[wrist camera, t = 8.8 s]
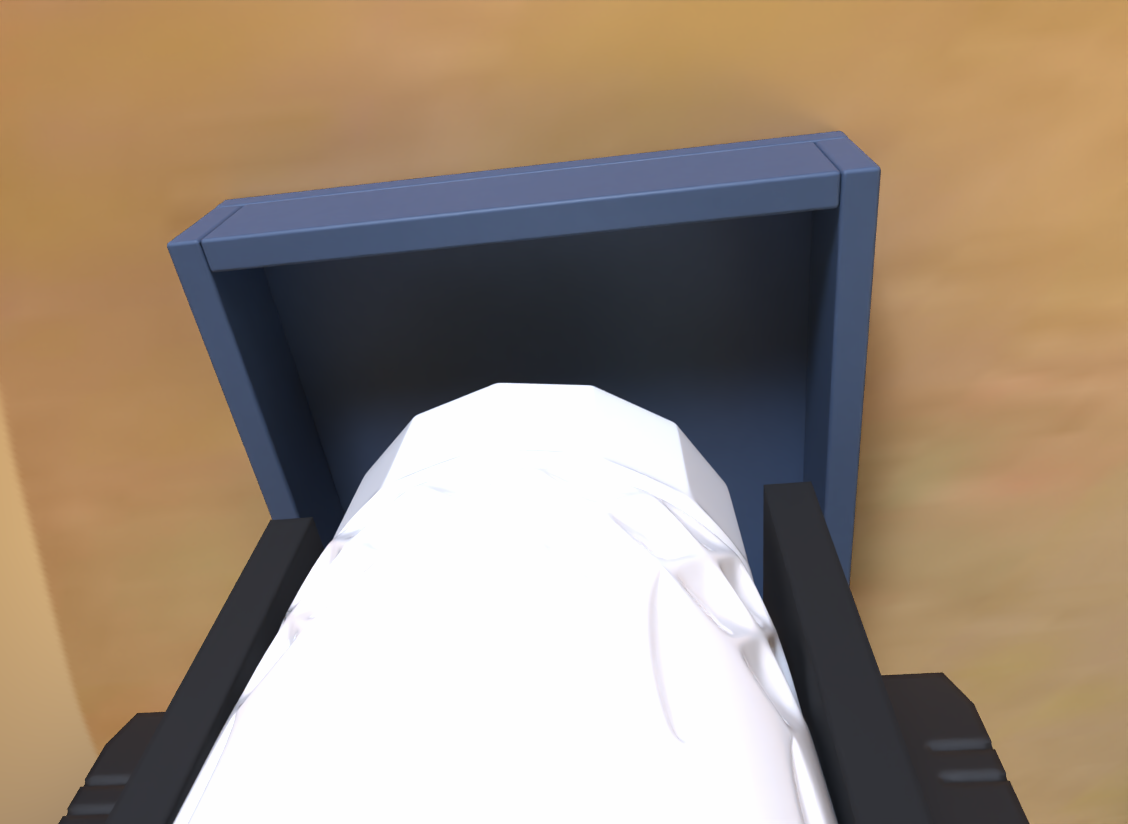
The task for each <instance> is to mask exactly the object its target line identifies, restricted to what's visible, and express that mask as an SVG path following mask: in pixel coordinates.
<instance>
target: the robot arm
mask: <svg viewBox="0 0 1128 824" xmlns="http://www.w3.org/2000/svg"><path fill="white" fill-rule="evenodd" d="M323 551H324V547H323V544H322V542H321V539H320V536H319V533H318V530H317V528H316V525H315V522H314V519H313V517H307V518H293V519H279V520H270V522H269V524H268V526H267V528H266V529H265V531H264V533H263V535H262V537H261V539H260V540H259V542H258V544H257V546H256V548H255V550H254V551H253V553H252V555H251V557H250V559H249V560H248V562H247V564H246V566H245V568H244V570H243V571H242V573H241V575H240V577H239V579H238V581H237V582H236V584H235V586H234V588H233V590H232V591H231V593H230V595H229V597H228V599H227V601H226V602H225V604H224V606H223V608H222V610H221V612H220V613H219V615H218V617H217V619H216V621H215V623H214V624H213V626H212V628H211V630H210V632H209V633H208V635H207V637H206V639H205V641H204V643H203V644H202V646H201V648H200V650H199V652H198V654H197V655H196V657H195V659H194V661H193V663H192V664H191V666H190V668H189V670H188V672H187V674H186V675H185V677H184V679H183V681H182V683H181V685H180V686H179V688H178V690H177V692H176V694H175V696H174V697H173V699H172V701H171V703H170V705H169V706H168V708H167V710H166V712H153V713H137V714H136V715H135V716H134V717H133V718H132V719H131V720H130V721H129V722H128V723H127V724H126V725H125V726H124V727H123V728H122V729H121V730H120V731H119V732H118V733H117V734H116V735H115V736H114V737H113V738H112V739H111V740H110V741H109V742H108V743H107V744H106V745H105V747H104V748H103V750H102V752H101V753H100V755H99V757H98V758H97V760H96V762H95V763H94V765H93V767H92V768H91V770H90V772H89V773H88V775H87V777H86V778H85V785H84V786H83V787H80V789H79V790H78V792H77V794H76V795H75V797H74V799H73V800H72V802H71V804H70V805H69V807H68V813H67V815H66V816H63V817H62V819H61V820H60V822H59V824H173V822H174V820H175V818H176V816H177V814H178V812H179V810H180V808H181V806H182V804H183V803H184V801H185V799H186V797H187V795H188V793H189V791H190V789H191V787H192V785H193V783H194V781H195V780H196V778H197V776H198V774H199V772H200V770H201V768H202V766H203V764H204V762H205V760H206V758H207V756H208V754H209V753H210V751H211V749H212V747H213V745H214V743H215V741H216V739H217V737H218V735H219V734H220V732H221V730H222V728H223V726H224V724H225V722H226V721H227V719H228V717H229V715H230V713H231V712H232V710H233V708H234V707H235V705H236V703H237V702H238V700H239V698H240V696H241V695H242V693H243V691H244V689H245V688H246V686H247V684H248V682H249V680H250V679H251V677H252V675H253V673H254V672H255V670H256V668H257V666H258V665H259V663H260V661H261V659H262V658H263V656H264V654H265V653H266V651H267V649H268V648H269V646H270V645H271V643H272V641H273V640H274V638H275V636H276V635H277V633H278V631H279V629H280V626H281V624H282V622H283V619H284V617H285V615H286V613H287V611H288V609H289V607H290V605H291V604H292V602H293V600H294V598H295V596H296V595H297V593H298V591H299V589H300V588H301V586H302V584H303V582H304V581H305V579H306V577H307V576H308V574H309V572H310V571H311V569H312V567H313V566H314V564H315V563H316V561H317V560H318V558H319V557H320V555H321V554H322V552H323ZM763 603H764V605H765V607H766V609H767V611H768V613H769V616H770V618H771V620H772V622H773V624H774V626H775V628H776V630H777V633H778V637H779V639H780V642H781V645H782V648H783V651H784V654H785V657H786V660H787V663H788V666H789V670H790V673H791V676H792V679H793V683H794V686H795V690H796V693H797V697H798V701H799V704H800V708H801V711H802V714H803V716H804V718H805V720H806V722H807V724H808V726H809V729H810V732H811V735H812V738H813V741H814V744H815V747H816V751H817V754H818V757H819V760H820V764H821V767H822V770H823V773H824V777H825V780H826V783H827V787H828V790H829V793H830V797H831V800H832V803H833V807H834V810H835V813H836V817H837V820H838V823H839V824H1029V822H1028V820H1027V818H1026V815H1025V813H1024V811H1023V809H1022V807H1021V805H1020V802H1019V800H1018V798H1017V796H1016V794H1015V792H1014V790H1013V787H1012V785H1011V783H1010V781H1007V778H1006V772H1005V770H1004V768H1003V766H1002V764H1001V761H1000V759H999V757H998V755H997V753H996V751H995V749H993V748H992V745H991V740H990V738H989V736H988V733H987V731H986V729H985V727H984V725H983V723H982V721H981V718H980V716H979V714H978V712H977V710H976V708H975V705H974V704H973V703H972V702H971V701H970V700H969V699H968V698H967V697H966V696H965V695H964V694H963V693H962V692H961V691H960V690H959V689H958V688H957V687H956V686H955V685H954V684H953V683H952V682H951V681H950V680H949V679H948V678H947V677H946V676H945V675H944V673H923V674H903V675H882V676H881V674H880V671H879V668H878V666H877V663H876V660H875V657H874V655H873V652H872V649H871V646H870V643H869V641H868V638H867V635H866V632H865V630H864V627H863V624H862V621H861V618H860V616H859V613H858V610H857V607H856V605H855V602H854V599H853V596H852V593H851V591H850V588H849V585H848V582H847V580H846V577H845V574H844V571H843V568H842V566H841V563H840V560H839V557H838V555H837V552H836V549H835V546H834V543H833V541H832V538H831V535H830V532H829V530H828V527H827V524H826V521H825V518H824V516H823V513H822V510H821V507H820V505H819V502H818V499H817V496H816V493H815V491H814V488H813V485H812V482H811V481H809V482H795V483H781V484H767V485H764V490H763Z"/></svg>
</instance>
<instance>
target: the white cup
mask: <svg viewBox="0 0 1128 824" xmlns="http://www.w3.org/2000/svg"><path fill="white" fill-rule="evenodd" d="M173 824H839V823H838V820H837V817H836V813H835V810H834V807H833V803H832V800H831V797H830V793H829V790H828V787H827V783H826V780H825V777H824V773H823V770H822V767H821V764H820V760H819V757H818V754H817V751H816V747H815V744H814V741H813V738H812V735H811V732H810V729H809V726H808V724H807V722H806V720H805V718H804V716H803V714H802V711H801V708H800V704H799V701H798V697H797V693H796V690H795V686H794V683H793V679H792V676H791V673H790V670H789V666H788V663H787V660H786V657H785V654H784V651H783V648H782V645H781V642H780V639H779V637H778V633H777V630H776V628H775V626H774V624H773V622H772V620H771V618H770V616H769V613H768V611H767V609H766V607H765V605H764V603H763V600H762V598H761V596H760V594H759V592H758V590H757V588H756V586H755V583H754V579H753V576H752V572H751V569H750V566H749V563H748V559H747V555H746V551H745V548H744V544H743V541H742V537H741V533H740V530H739V526H738V522H737V519H736V515H735V511H734V508H733V504H732V501H731V497H730V494H729V490H728V488H727V485H726V484H725V482H724V481H723V480H722V479H721V477H720V476H719V475H718V474H717V473H716V471H715V470H714V469H713V468H712V467H711V465H710V464H709V463H708V462H707V461H706V459H705V458H704V457H703V456H702V455H701V453H700V452H699V451H698V450H697V449H696V447H695V446H694V445H693V444H692V443H691V441H690V440H689V439H688V438H687V437H686V435H685V434H684V433H683V432H682V430H681V429H680V428H679V427H678V426H677V425H676V424H675V423H674V422H672V421H670V420H668V419H666V418H663V417H661V416H659V415H657V414H655V413H652V412H650V411H648V410H646V409H643V408H641V407H639V406H637V405H635V404H632V403H630V402H628V401H626V400H624V399H621V398H619V397H617V396H615V395H612V394H610V393H608V392H606V391H604V390H601V389H599V388H597V387H595V386H591V385H564V384H529V383H496V384H493V385H490V386H488V387H485V388H483V389H480V390H478V391H475V392H473V393H470V394H468V395H465V396H463V397H460V398H458V399H455V400H453V401H450V402H448V403H445V404H443V405H440V406H438V407H435V408H433V409H430V410H428V411H425V412H423V413H420V414H418V415H416V416H415V417H414V418H413V419H412V420H411V421H410V422H409V423H408V425H407V426H406V427H405V428H404V429H403V430H402V432H401V433H400V434H399V435H398V436H397V438H396V439H395V440H394V441H393V442H392V443H391V445H390V446H389V447H388V448H387V449H386V450H385V452H384V453H383V454H382V455H381V456H380V457H379V459H378V460H377V461H376V462H375V463H374V465H373V466H372V467H371V468H370V469H369V470H368V472H367V473H366V474H365V476H364V478H363V479H362V481H361V483H360V485H359V487H358V489H357V491H356V493H355V495H354V497H353V499H352V501H351V503H350V505H349V507H348V509H347V511H346V514H345V516H344V518H343V520H342V522H341V524H340V526H339V528H338V530H337V532H336V534H335V536H334V538H333V540H332V541H331V542H330V543H329V544H328V545H327V547H326V548H325V549H324V551H323V552H322V554H321V555H320V557H319V558H318V560H317V561H316V563H315V564H314V566H313V567H312V569H311V571H310V572H309V574H308V576H307V577H306V579H305V581H304V582H303V584H302V586H301V588H300V589H299V591H298V593H297V595H296V596H295V598H294V600H293V602H292V604H291V605H290V607H289V609H288V611H287V613H286V615H285V617H284V619H283V622H282V624H281V626H280V629H279V631H278V633H277V635H276V636H275V638H274V640H273V641H272V643H271V645H270V646H269V648H268V649H267V651H266V653H265V654H264V656H263V658H262V659H261V661H260V663H259V665H258V666H257V668H256V670H255V672H254V673H253V675H252V677H251V679H250V680H249V682H248V684H247V686H246V688H245V689H244V691H243V693H242V695H241V696H240V698H239V700H238V702H237V703H236V705H235V707H234V708H233V710H232V712H231V713H230V715H229V717H228V719H227V721H226V722H225V724H224V726H223V728H222V730H221V732H220V734H219V735H218V737H217V739H216V741H215V743H214V745H213V747H212V749H211V751H210V753H209V754H208V756H207V758H206V760H205V762H204V764H203V766H202V768H201V770H200V772H199V774H198V776H197V778H196V780H195V781H194V783H193V785H192V787H191V789H190V791H189V793H188V795H187V797H186V799H185V801H184V803H183V804H182V806H181V808H180V810H179V812H178V814H177V816H176V818H175V820H174V822H173Z"/></svg>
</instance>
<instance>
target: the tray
mask: <svg viewBox="0 0 1128 824" xmlns="http://www.w3.org/2000/svg"><path fill="white" fill-rule="evenodd" d="M880 175H881V169H880V167H879V166H878V165H877V164H876V163H875V162H874V161H873V160H872V159H871V158H869V157H868V156H867V155H866V154H865V153H864V152H863V151H862V150H861V149H860V148H859V147H858V146H856V145H855V144H854V143H853V142H852V141H851V140H850V139H848V137H847V136H846V135H845V134H844V133H843V132H841V131H836V132H827V133H818V134H809V135H800V136H791V137H782V138H773V139H764V140H756V141H747V142H738V143H729V144H720V145H711V146H702V147H693V148H684V149H675V150H667V151H658V152H649V153H640V154H631V155H622V156H613V157H604V158H595V159H586V160H578V161H569V162H560V163H551V164H542V165H533V166H524V167H515V168H506V169H498V170H489V171H480V172H471V173H462V174H453V175H444V176H435V177H426V178H417V179H409V180H400V181H391V182H382V183H373V184H364V185H355V186H346V187H337V188H328V189H320V190H311V191H302V192H293V193H284V194H275V195H266V196H257V197H248V198H240V199H231V200H225V201H224V202H222V203H221V204H220V205H218V206H217V207H216V208H215V209H213V210H212V211H211V212H209V213H208V214H207V215H205V216H204V217H203V218H201V219H200V220H199V221H197V222H196V223H195V224H193V225H192V226H191V227H189V228H188V229H186V230H185V231H184V232H182V233H181V234H180V235H178V236H177V237H176V238H174V239H173V240H172V241H170V242H169V243H168V244H167V248H168V250H169V253H170V256H171V258H172V261H173V263H174V266H175V269H176V271H177V274H178V276H179V279H180V282H181V284H182V287H183V289H184V292H185V295H186V297H187V300H188V302H189V305H190V307H191V310H192V313H193V315H194V318H195V320H196V323H197V326H198V328H199V331H200V333H201V336H202V339H203V341H204V344H205V346H206V349H207V351H208V354H209V357H210V359H211V362H212V364H213V367H214V370H215V372H216V375H217V377H218V380H219V383H220V385H221V388H222V390H223V393H224V395H225V398H226V401H227V403H228V406H229V408H230V411H231V414H232V416H233V419H234V421H235V424H236V427H237V429H238V432H239V434H240V437H241V440H242V442H243V445H244V447H245V450H246V452H247V455H248V458H249V460H250V463H251V465H252V468H253V471H254V473H255V476H256V478H257V481H258V484H259V486H260V489H261V491H262V494H263V496H264V499H265V502H266V504H267V507H268V509H269V512H270V515H271V517H272V520H279V519H293V518H307V517H313V519H314V522H315V525H316V528H317V530H318V533H319V536H320V539H321V542H322V544H323V547H324V549H325V548H326V547H327V545H328V544H329V543H330V542H331V541H332V540H333V538H334V536H335V534H336V532H337V530H338V528H339V526H340V524H341V522H342V520H343V518H344V516H345V514H346V511H347V509H348V507H349V505H350V503H351V501H352V499H353V497H354V495H355V493H356V491H357V489H358V487H359V485H360V483H361V481H362V479H363V478H364V476H365V474H366V473H367V472H368V470H369V469H370V468H371V467H372V466H373V465H374V463H375V462H376V461H377V460H378V459H379V457H380V456H381V455H382V454H383V453H384V452H385V450H386V449H387V448H388V447H389V446H390V445H391V443H392V442H393V441H394V440H395V439H396V438H397V436H398V435H399V434H400V433H401V432H402V430H403V429H404V428H405V427H406V426H407V425H408V423H409V422H410V421H411V420H412V419H413V418H414V417H415V416H416V415H418V414H420V413H423V412H425V411H428V410H430V409H433V408H435V407H438V406H440V405H443V404H445V403H448V402H450V401H453V400H455V399H458V398H460V397H463V396H465V395H468V394H470V393H473V392H475V391H478V390H480V389H483V388H485V387H488V386H490V385H493V384H496V383H529V384H564V385H591V386H595V387H597V388H599V389H601V390H604V391H606V392H608V393H610V394H612V395H615V396H617V397H619V398H621V399H624V400H626V401H628V402H630V403H632V404H635V405H637V406H639V407H641V408H643V409H646V410H648V411H650V412H652V413H655V414H657V415H659V416H661V417H663V418H666V419H668V420H670V421H672V422H674V423H675V424H676V425H677V426H678V427H679V428H680V429H681V430H682V432H683V433H684V434H685V435H686V437H687V438H688V439H689V440H690V441H691V443H692V444H693V445H694V446H695V447H696V449H697V450H698V451H699V452H700V453H701V455H702V456H703V457H704V458H705V459H706V461H707V462H708V463H709V464H710V465H711V467H712V468H713V469H714V470H715V471H716V473H717V474H718V475H719V476H720V477H721V479H722V480H723V481H724V482H725V484H726V485H727V488H728V490H729V494H730V497H731V501H732V504H733V508H734V511H735V515H736V519H737V522H738V526H739V530H740V533H741V537H742V541H743V544H744V548H745V551H746V555H747V559H748V563H749V566H750V569H751V572H752V576H753V579H754V583H755V586H756V588H757V590H758V592H759V594H760V596H761V598H762V600H763V490H764V485H767V484H781V483H795V482H809V481H811V482H812V485H813V488H814V491H815V493H816V496H817V499H818V502H819V505H820V507H821V510H822V513H823V516H824V518H825V521H826V524H827V527H828V530H829V532H830V535H831V538H832V541H833V543H834V546H835V549H836V552H837V555H838V557H839V560H840V563H841V566H842V568H843V571H844V574H845V577H846V580H847V582H848V585H850V572H851V559H852V545H853V532H854V519H855V506H856V492H857V479H858V466H859V453H860V439H861V426H862V413H863V400H864V387H865V373H866V360H867V347H868V334H869V320H870V307H871V294H872V281H873V267H874V254H875V241H876V228H877V215H878V201H879V188H880Z"/></svg>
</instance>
